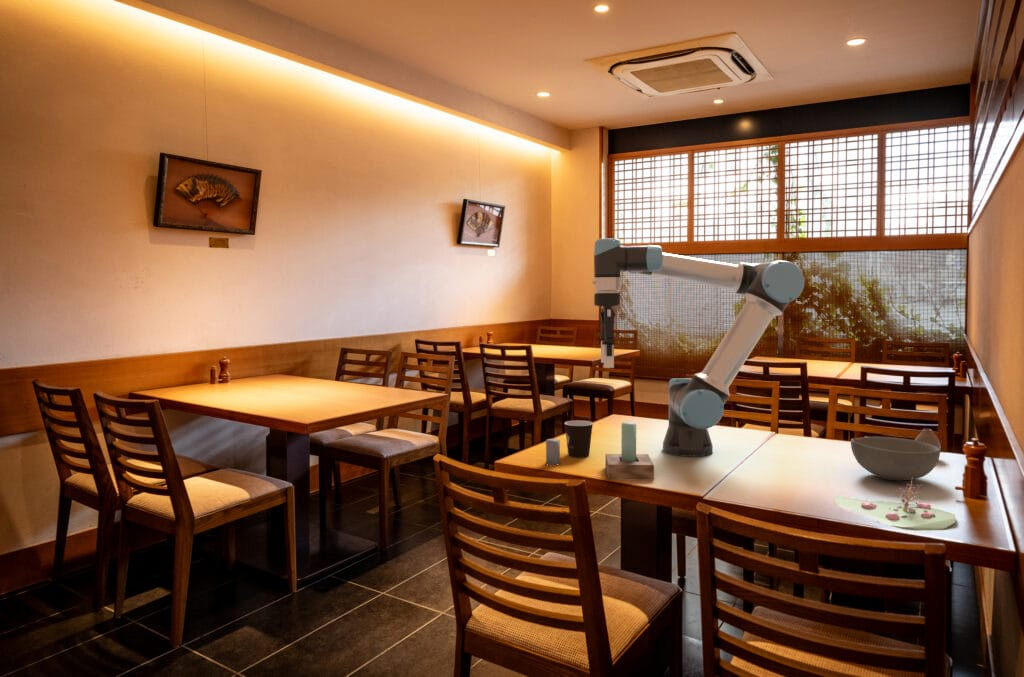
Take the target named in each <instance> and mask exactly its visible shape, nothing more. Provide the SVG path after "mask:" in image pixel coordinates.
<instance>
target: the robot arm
mask: <svg viewBox="0 0 1024 677" xmlns="http://www.w3.org/2000/svg"><path fill="white" fill-rule="evenodd" d="M663 251H664V250H663V249H662V246H661V245H658V244H657V245H653V244H647V245H645V244H644V245H642V244H640V245H638V244H637V245H622V243H621V240H620V239H619V238H599V239H596V240H595V241H594V251H593V267H594V268H593V272H594V274H593V275H594V276H593V277H594V279H593V281H592V282H591V284H592V285H594V289H593V290H594V292H596V293H594V296H593V298H594V301H593V302H594V303H593V304H594V306H595V307H602V308H601V309H600V312H599V318H600V340H601V341H600V363H602V364H603V369H604V368H605V369H614V368H615V342H616V341H615V328H614V327H615V311H614V309H613V307H619V306H620V305H621V293H619V292H620V291H621V273H622V272H626V273H627V272H628V273H630V274H639V275H647V276H654V277H659V278H663V279H664V278H665V279H671V280H677V281H680V282H681V281H682V282H688V283H693V284H699V285H706V286H712V287H716V288H721V289H722V288H723V289H729V290H731V292H732V293H733V294H738V295H743V296H745V301H746V302H745V303H744V305H743V307H741V310H740V311H739V313H738V314H737V316H736V317H735V319H734V321H733V322H732V324H731V325H730V327H729V329H728V330H727V331H726V334H725V335H724V336H723V338H722V340H721V342H720V343H719V344H718V346H717V347H716V349H715V351H714V353H713V354H712V356H711V357H710V359H709V360H708V361H707V364H705V366H704V368H703V369H702V371H701V372H697V373H694V374H693V375H692V377H691V378H690V377H689V378H685V377H684V378H671V379H670V380H669V383H668V387H667V388H668V427H667V429H666V433H665V435H664V438H663V441H662V451H663V452H665V453H667V454H671V455H675V456H683V457H703V456H709V455H711V454H712V453H713V443H712V438H711V435H710V432H709V430H708V429H711V428H713V427H714V426H715V425H717V424H719V422H720V421H721V419H722V417H723V415H724V412H725V411H724V409H725V407H724V405H725V403H726V402H727V400H728V399H729V397H730V396H731V393H730V386H731V384H732V383H733V381H734V379H735V378H736V376H737V375H738V373H739V372H740V370H741V368H742V367H743V366H744V364H745V362H746V361H747V359H748V358H749V356H750V354H752V352H753V350H754V349H755V346H756V345H757V344H758V342H759V340H760V339H761V337H762V335H763V334H764V333H765V331H766V329H767V327H768V326H769V325H770V323H771V322H772V320H773V318H774V317H777V316H781V315H783V312H784V311H785V309H786V308H787V306H788V305H789V303H790V302H792V301H795V300H796V299H797V298H799V297H800V295H801V294H802V292H803V291H804V288H805V276H804V274H803V271H802V269H801V268H800V267H799V266H798V265H797V264H795V263H793V262H791V261H788V260H783V259H782V260H781V259H776V260H772V261H766V262H758V263H754V262H752V263H751V262H750V263H749V262H742V261H739V262H737V263H736V264H733V263H727V262H721V261H715V260H709V259H704V258H697V257H690V256H685V255H681V254H680V255H679V254H673V253H667V252H663Z"/></svg>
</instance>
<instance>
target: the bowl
mask: <svg viewBox="0 0 1024 677" xmlns="http://www.w3.org/2000/svg"><path fill="white" fill-rule="evenodd" d="M850 448H851V451H852V454H853V456H854V458H855V460H856V462H857V464H858V465H859V466H861V467H862V468H863V469H864V470H866V471H867V472H869V473H870V474H872V475H875V476H877V477H879V478H881V479H885V480H888V481H896V482H897V481H901V482H902V481H913V480H917V479H920V478H923V477H926V476H927V475H928V474H929V473H931V472H932V471H933V470H934V468H936V466H937V464H938V462H939V459H940V454H941V451H940V450H939V448H938V447H936V446H933V445H931V444H927V443H924V442H920V441H916V440H915V439H909V438H908V439H907V438H901V437H892V436H866V437H865V436H863V437H858V438H856V437H855V438H851V439H850ZM912 478H913V479H912Z"/></svg>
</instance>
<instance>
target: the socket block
mask: <svg viewBox="0 0 1024 677" xmlns="http://www.w3.org/2000/svg"><path fill="white" fill-rule="evenodd" d="M604 459H605V463H604V464H605V465H604V466H605V471H606V474H607V479H608V480H615V479H634V481H636V480H637V481H641V480H642V481H644V480H645V481H653V480H655V464H654V463H653V460H652V459H651V457H650V455H649V454H647V453H645V454H644V453H636V462H621V453H605V458H604ZM635 479H636V480H635Z"/></svg>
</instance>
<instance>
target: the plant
mask: <svg viewBox="0 0 1024 677" xmlns="http://www.w3.org/2000/svg"><path fill="white" fill-rule="evenodd" d="M913 480H914V479H913V478H912V480H910V481H911V482H910V483H906V486H905V490H904V489H903V494H901V496H899V495H898V494H899V493H900V492H901V491H900V490H901V489H902V487H899V488H898V489H899V490H896V491H895V493H896V494H897V496H899V498H901V502H895V501H888V502H887V501H886V500H877V501H868V500H869V499H866V500H858V499H859V498H855V499H850V498H851V497H843V498H842V497H841V496H836V497H834V499H835V502H836V504H835V505H836V506H837V505H838V506H840V507H842V508H845V509H848V510H855V511H859V512H861V513H863V514H867V515H869V516H872V517H875V518H876V519H879V520H880V521H884V522H886V523H887V524H889V525H892V526H891V527H893V526H895V527H894V528H897V527H898V528H900V529H904V528H905V530H913V531H914V530H915V531H939V530H940V531H941V530H944V529H947V528H949V527H951V526H952V525H954V524H956V521H957V520H956V519H957V517H956V514H955V513H951V512H948V511H947V510H942V509H939V508H935V507H932V505H931V504H929V503H927V502H924V503H921V502H914V501H913V503H912V504H911V503H909V502H910V501H912V500H913V499H915V497H917V492H914V493H913V491H915V488H916V487H917V489H918V490H919V491H918V493H919V494H922V492H921V491H920V490H921V487H923V485H924V484H923V483H922V484H918V485H917V484H916V486H915V484H914V483H913ZM905 492H906V493H905ZM905 494H906V495H905ZM912 495H913V497H912V498H910V497H911V496H912ZM918 497H919V498H921V496H920V495H918ZM834 499H833V500H834ZM884 501H886V502H884ZM835 502H834V503H835ZM914 503H915V504H914ZM838 506H837V507H838ZM898 528H897V529H898Z"/></svg>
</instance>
